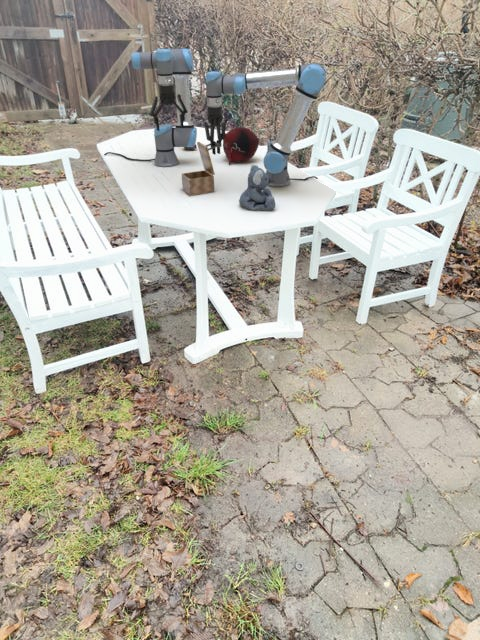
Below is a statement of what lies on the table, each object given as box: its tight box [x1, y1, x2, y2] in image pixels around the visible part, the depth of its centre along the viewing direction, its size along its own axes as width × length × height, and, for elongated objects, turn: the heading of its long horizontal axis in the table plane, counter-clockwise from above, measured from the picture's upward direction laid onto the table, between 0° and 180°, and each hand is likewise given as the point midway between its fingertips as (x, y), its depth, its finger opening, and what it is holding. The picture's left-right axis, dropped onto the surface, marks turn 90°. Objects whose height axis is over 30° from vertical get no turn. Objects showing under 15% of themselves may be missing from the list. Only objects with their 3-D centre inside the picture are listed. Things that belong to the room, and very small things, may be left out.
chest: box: [181, 169, 215, 197], centre depth 247 cm, size 14×12×9 cm
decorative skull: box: [222, 126, 260, 166], centre depth 295 cm, size 21×24×25 cm
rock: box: [183, 143, 198, 151], centre depth 322 cm, size 12×9×10 cm
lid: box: [196, 140, 221, 176], centre depth 243 cm, size 15×12×9 cm
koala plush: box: [238, 164, 276, 211], centre depth 224 cm, size 17×18×20 cm
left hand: (170, 129), depth 240 cm, fingers open, 13 cm apart
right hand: (216, 153), depth 243 cm, fingers closed on lid, 2 cm apart
